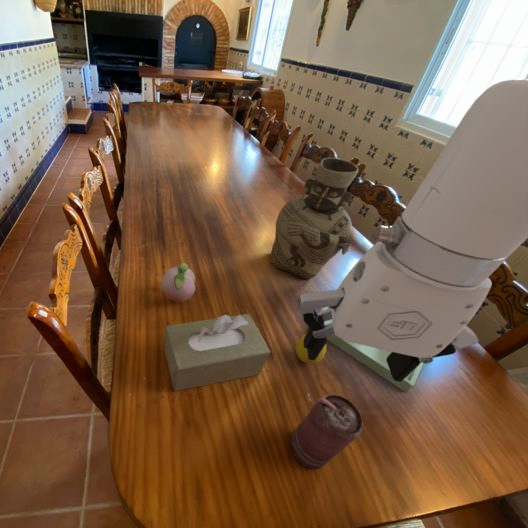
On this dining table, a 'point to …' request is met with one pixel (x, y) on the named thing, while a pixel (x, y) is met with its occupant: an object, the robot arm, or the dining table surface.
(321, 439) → the can
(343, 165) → the ceramic vessel
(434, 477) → the dining table surface
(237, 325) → the tissue box
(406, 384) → the tray
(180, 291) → the decorative fruit
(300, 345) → the lemon
